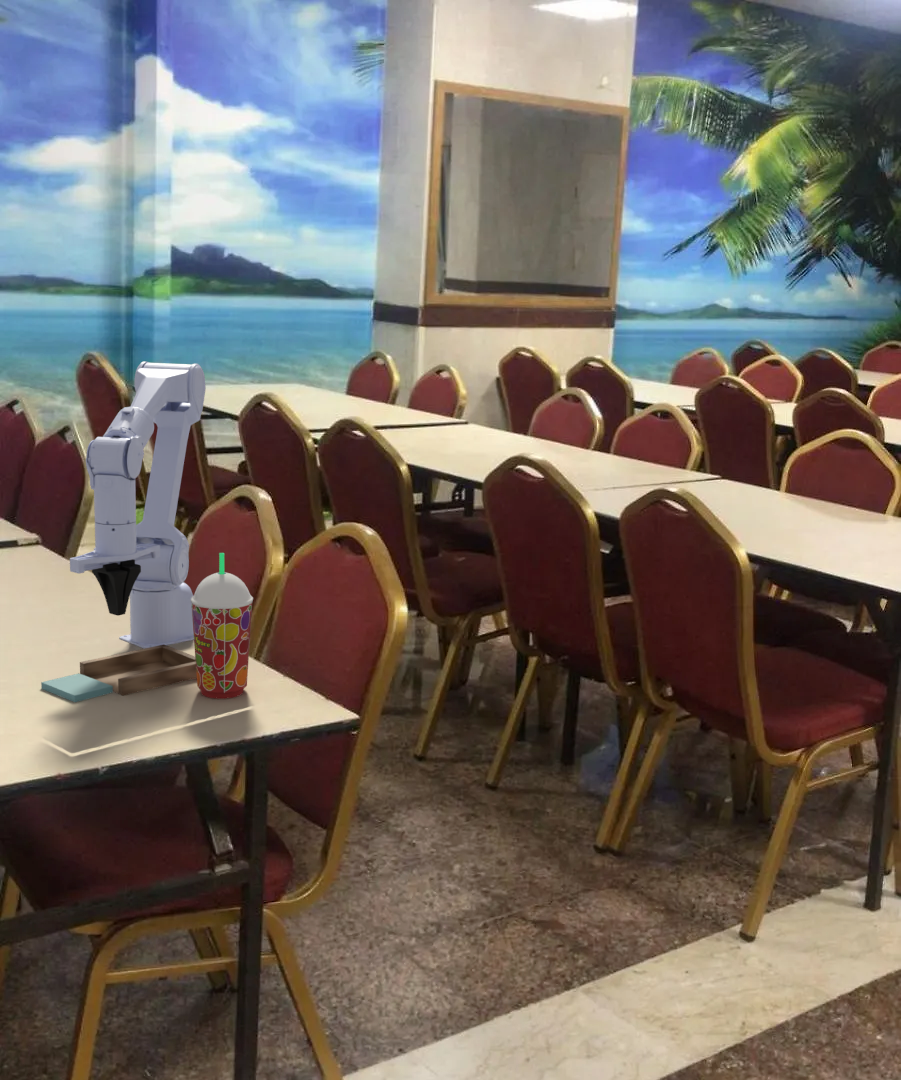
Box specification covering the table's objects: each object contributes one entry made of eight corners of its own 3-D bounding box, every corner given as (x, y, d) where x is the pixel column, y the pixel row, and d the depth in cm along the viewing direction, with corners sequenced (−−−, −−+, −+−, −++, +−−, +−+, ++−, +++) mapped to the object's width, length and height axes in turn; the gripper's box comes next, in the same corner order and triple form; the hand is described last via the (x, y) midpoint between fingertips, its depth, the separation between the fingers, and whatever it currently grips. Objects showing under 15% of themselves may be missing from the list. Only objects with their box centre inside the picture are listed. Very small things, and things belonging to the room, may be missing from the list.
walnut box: (164, 660, 198) (164, 644, 198) (207, 677, 191) (207, 661, 190) (80, 679, 188) (79, 662, 188) (122, 698, 181) (122, 680, 180)
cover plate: (79, 685, 187) (78, 673, 187) (112, 698, 182) (112, 686, 182) (41, 694, 183) (41, 682, 183) (75, 708, 178) (74, 695, 177)
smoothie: (185, 688, 186) (184, 548, 182) (244, 682, 189) (244, 545, 185) (199, 706, 178) (198, 561, 174) (259, 700, 182) (260, 558, 178)
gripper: (137, 510, 197) (139, 599, 200) (55, 523, 186) (57, 617, 188) (169, 517, 193) (170, 608, 195) (87, 531, 181) (89, 627, 184)
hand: (117, 613), depth 192 cm, fingers closed
